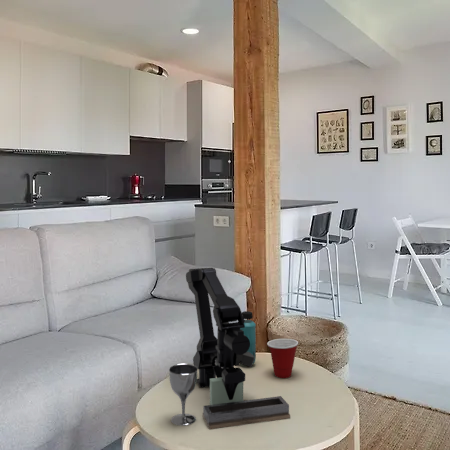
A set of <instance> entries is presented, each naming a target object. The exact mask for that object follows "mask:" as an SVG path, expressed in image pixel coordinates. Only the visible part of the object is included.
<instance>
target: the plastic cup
mask: <svg viewBox="0 0 450 450" xmlns="http://www.w3.org/2000/svg"><path fill="white" fill-rule="evenodd" d="M266 344H267V346H268V348H269V351H270V355H271V362H272V367H273V373H274V376H275V378H279V379H288V378H291V376H292V374H293V373H292V372H293V367H294V364H295V358H296V357H295V356H296V352H297V348H298V345H299V341H298V340H296V339H293V338H292V339H291V338H276V339H272V340H269V341H268V342H267V343H266Z"/></svg>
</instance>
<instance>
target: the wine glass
mask: <svg viewBox="0 0 450 450" xmlns="http://www.w3.org/2000/svg"><path fill="white" fill-rule="evenodd" d="M168 377H169V383H170V388H171V390H172V391H173V392H174V393H175V394H176V395H177V397H178V398H179V399H180V402H181V413H178V414H175V415H174V416H172V417H171V418H170V421H171V423H172V424H173V425H175V426H181V427H183V426H184V427H185V426H189V425H192V424H195V423H196V421H197V419H196V416H194V415H193V414H190V413H186V412H185V411H186V403H187V399H188V397H189V396H190V395H191V394H192V393H193V392H194V390H195V389H196V386H197V379H198V369H197V367H196V366H194V364H190V363H177V364H174V365H172V366H170V367H169V369H168Z"/></svg>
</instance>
